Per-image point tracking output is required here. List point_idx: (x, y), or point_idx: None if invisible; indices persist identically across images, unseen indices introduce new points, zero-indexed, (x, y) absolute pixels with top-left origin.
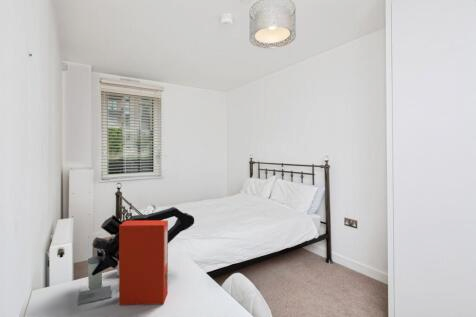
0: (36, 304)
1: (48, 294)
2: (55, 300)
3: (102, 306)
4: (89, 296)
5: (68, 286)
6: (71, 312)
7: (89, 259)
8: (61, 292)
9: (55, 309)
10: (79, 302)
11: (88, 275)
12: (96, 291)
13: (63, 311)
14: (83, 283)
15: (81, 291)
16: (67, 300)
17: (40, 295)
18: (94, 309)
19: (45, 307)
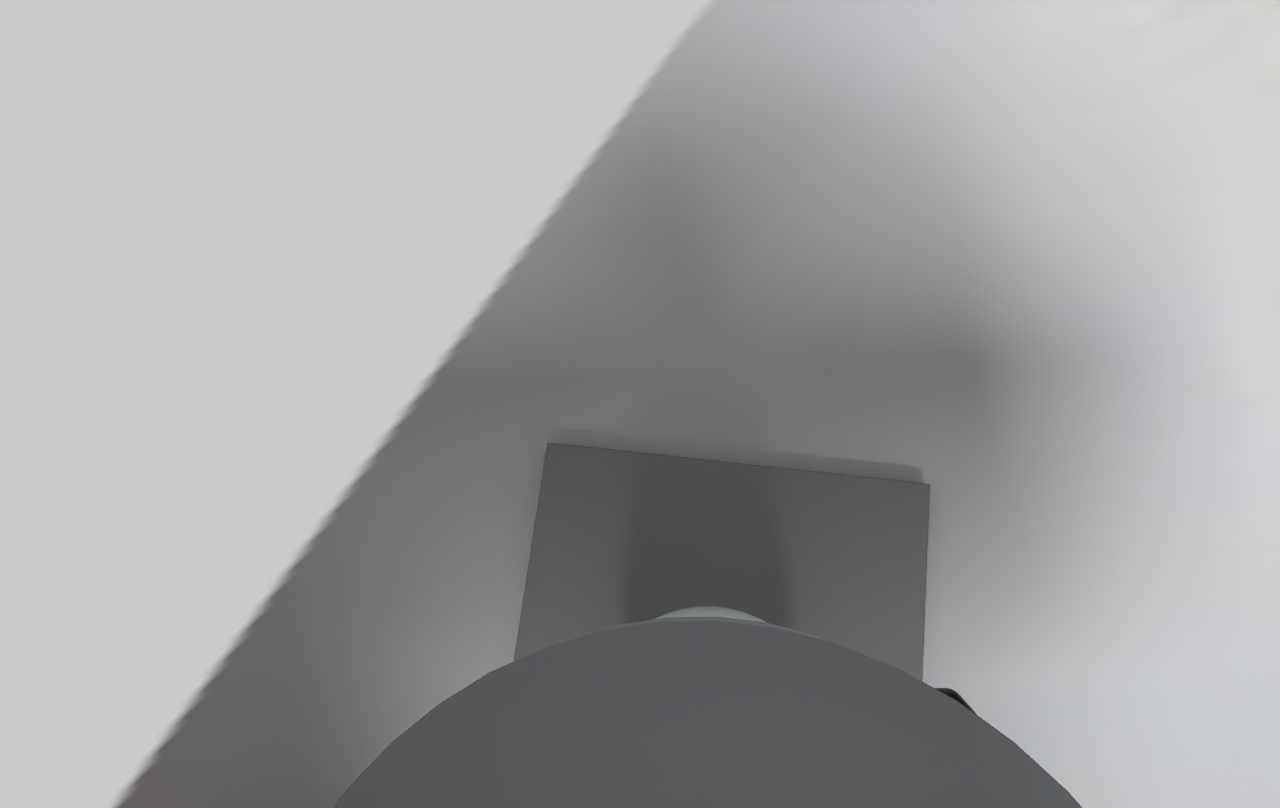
0: (883, 14)
1: (1105, 109)
2: (868, 197)
3: (317, 755)
4: None
5: (1259, 342)
6: (431, 375)
7: (788, 743)
8: (1083, 255)
9: (624, 209)
10: (585, 468)
11: (682, 613)
12: None
13: (516, 292)
14: (1272, 565)
15: (928, 512)
16: (780, 331)
17: (1125, 26)
18: (313, 641)
19: (744, 108)
